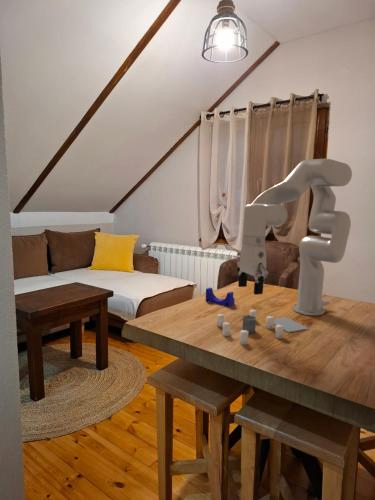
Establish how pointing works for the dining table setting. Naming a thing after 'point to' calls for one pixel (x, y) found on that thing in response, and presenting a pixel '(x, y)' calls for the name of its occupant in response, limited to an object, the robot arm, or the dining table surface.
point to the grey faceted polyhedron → (249, 324)
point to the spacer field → (244, 332)
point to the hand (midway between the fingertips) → (250, 290)
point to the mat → (289, 325)
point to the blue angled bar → (213, 299)
